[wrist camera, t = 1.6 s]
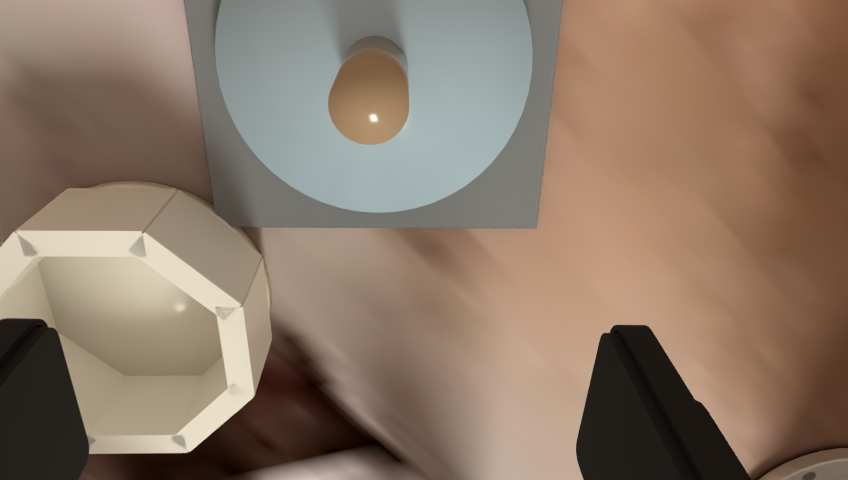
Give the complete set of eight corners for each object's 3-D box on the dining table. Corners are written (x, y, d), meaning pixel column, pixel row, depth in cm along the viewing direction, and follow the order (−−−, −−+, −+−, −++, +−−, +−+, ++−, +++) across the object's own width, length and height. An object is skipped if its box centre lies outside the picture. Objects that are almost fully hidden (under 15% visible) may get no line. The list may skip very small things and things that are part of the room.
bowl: (259, 181, 30) (232, 231, 26) (280, 380, 36) (262, 452, 31) (0, 179, 30) (-78, 230, 25) (63, 381, 36) (9, 454, 31)
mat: (575, -140, 25) (579, -141, 24) (534, 223, 32) (536, 228, 31) (167, -151, 24) (161, -153, 23) (220, 221, 31) (217, 227, 31)
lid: (545, -107, 25) (591, -116, 19) (515, 206, 31) (543, 276, 25) (198, -115, 24) (130, -127, 18) (239, 205, 30) (198, 276, 24)
